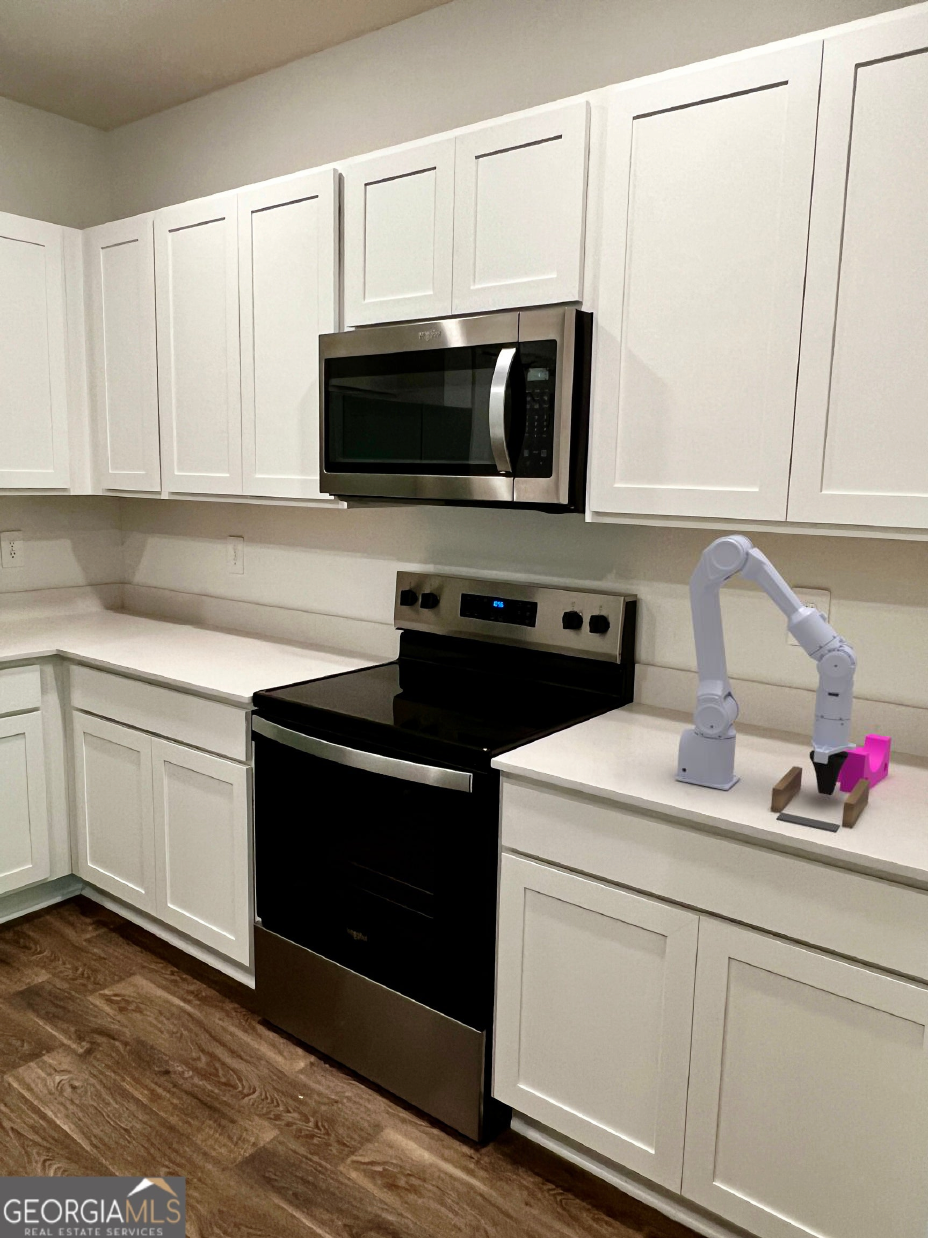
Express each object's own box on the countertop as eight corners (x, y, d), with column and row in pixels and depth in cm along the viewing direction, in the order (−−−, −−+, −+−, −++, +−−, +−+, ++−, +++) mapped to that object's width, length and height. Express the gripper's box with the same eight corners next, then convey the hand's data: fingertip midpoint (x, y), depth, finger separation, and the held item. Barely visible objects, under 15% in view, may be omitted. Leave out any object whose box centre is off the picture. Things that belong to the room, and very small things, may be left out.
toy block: (852, 769, 172) (856, 731, 171) (887, 776, 168) (891, 737, 167) (825, 788, 161) (828, 747, 160) (861, 797, 157) (865, 755, 156)
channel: (770, 811, 148) (772, 787, 148) (791, 787, 160) (793, 766, 159) (852, 828, 141) (854, 804, 141) (867, 803, 153) (870, 780, 152)
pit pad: (776, 819, 145) (776, 818, 144) (781, 814, 147) (781, 812, 147) (835, 832, 140) (836, 830, 140) (839, 826, 142) (839, 825, 142)
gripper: (849, 729, 143) (842, 811, 146) (866, 710, 156) (858, 786, 158) (803, 722, 147) (796, 801, 149) (823, 704, 159) (816, 778, 161)
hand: (825, 793), depth 154 cm, fingers closed
